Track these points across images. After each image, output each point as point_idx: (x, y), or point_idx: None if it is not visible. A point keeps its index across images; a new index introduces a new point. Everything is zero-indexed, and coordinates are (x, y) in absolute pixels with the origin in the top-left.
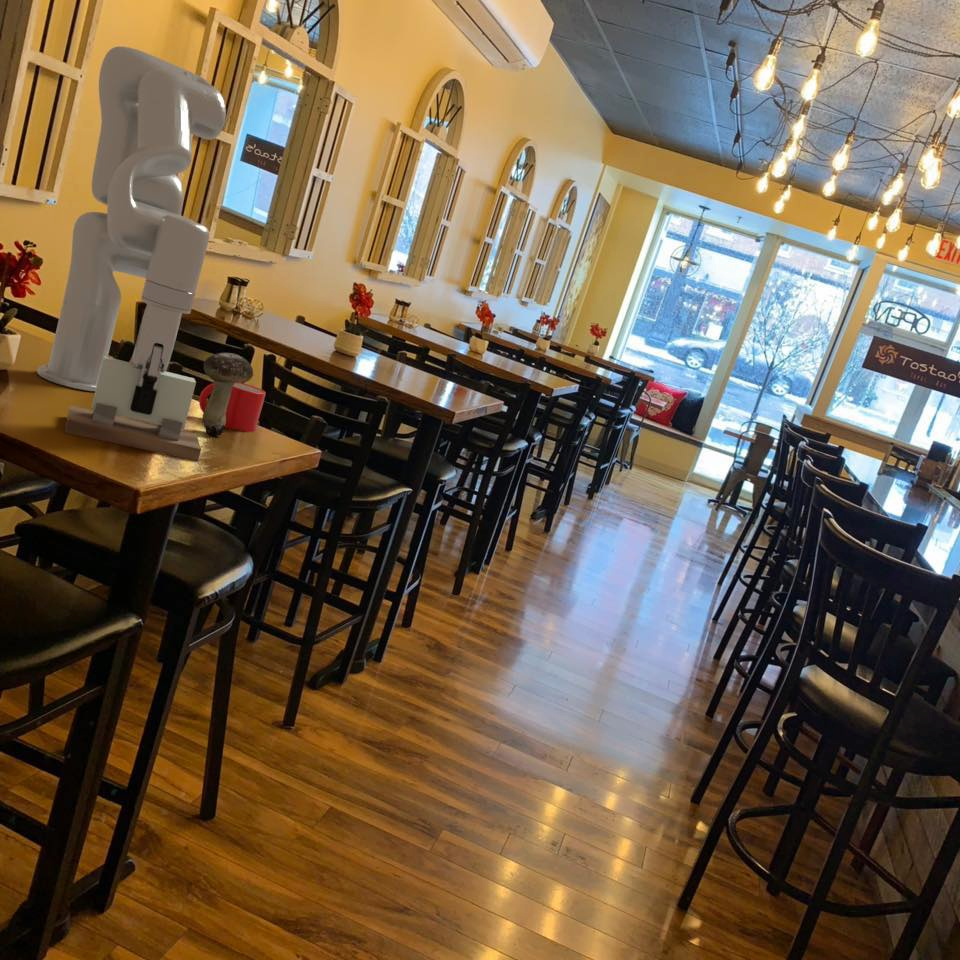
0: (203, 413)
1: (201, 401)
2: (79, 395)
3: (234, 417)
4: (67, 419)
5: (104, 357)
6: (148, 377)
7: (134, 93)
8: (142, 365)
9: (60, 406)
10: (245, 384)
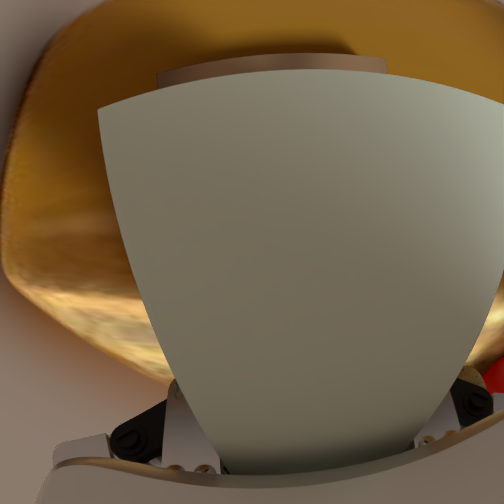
0: (474, 376)
1: None
2: None
3: (490, 387)
4: (178, 69)
5: (444, 100)
6: (81, 441)
7: None
8: (410, 447)
9: (457, 66)
10: None
